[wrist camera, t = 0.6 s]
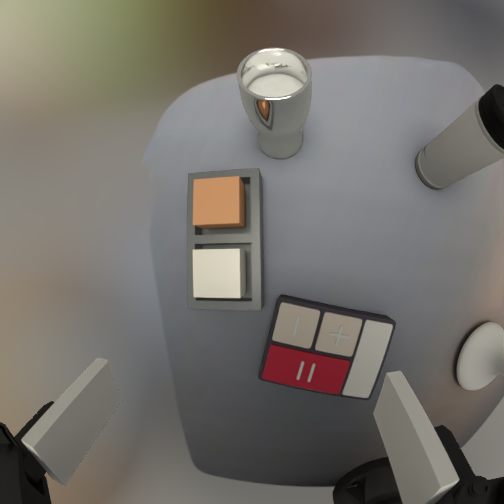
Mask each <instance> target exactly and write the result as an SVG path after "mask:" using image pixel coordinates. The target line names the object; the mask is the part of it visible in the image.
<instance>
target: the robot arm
mask: <svg viewBox="0 0 504 504" xmlns="http://www.w3.org/2000/svg"><path fill="white" fill-rule="evenodd" d="M121 401H122V398H121V395H120V392H119V389H118V386H117V384H116V381H115V378H114V375H113V371H112V368H111V365H110V362H109V360H106V359H101V358H96V360H95V361H94V362H93V363H92V364H91V365H90V366H89V367H88V368H87V369H86V370H85V371H84V372H83V373H82V374H81V375H80V376H79V377H78V378H77V379H76V380H75V381H74V382H73V383H72V384H71V385H70V387H69V388H68V389H67V390H66V391H65V392H64V393H63V394H62V395H61V396H60V397H59V398H58V400H56V402H53V401H51V402H49V403H48V404H46V405H44V406H43V407H42V408H41V409H40V410H39V411H38V412H37V414H35V415H34V416H33V419H31V420H30V421H29V422H28V423H27V424H26V425H25V426H24V427H23V428H22V429H21V431H20V432H19V433H18V434H17V435H16V436H15V437H13V435H12V434H11V433H10V431H9V430H8V428H7V427H6V425H5V424H3V423H0V504H51V500H50V495H49V490H48V484H47V480H46V477H45V476H44V474H45V473H46V472H47V473H48V474H49V475H50V476H51V478H52V479H54V480H55V481H57V482H59V483H61V484H62V485H64V486H66V485H67V483H68V481H69V480H70V478H71V477H72V475H73V474H74V472H75V471H76V469H77V467H78V466H79V464H80V463H81V461H82V460H83V458H84V456H85V455H86V454H87V452H88V451H89V449H90V448H91V446H92V445H93V443H94V442H95V440H96V438H97V437H98V436H99V434H100V433H101V431H102V430H103V428H104V427H105V425H106V424H107V422H108V420H109V419H110V418H111V416H112V415H113V413H114V412H115V410H116V409H117V408H118V406H119V405H120V403H121ZM373 415H374V418H375V420H376V423H377V426H378V429H379V431H380V434H381V437H382V440H383V443H384V446H385V449H386V452H387V455H388V458H384V459H379V460H376V461H372V462H370V463H367V464H365V465H362V466H360V467H358V468H356V469H355V470H353V471H351V472H350V473H348V474H347V475H346V476H344V477H343V478H342V479H341V480H340V481H339V482H338V483H337V485H336V486H335V488H334V491H333V501H334V504H504V477H500V478H496V479H491V480H487V479H486V478H484V477H482V476H475V474H474V473H473V471H472V470H471V467H470V465H469V464H468V462H467V460H466V458H465V456H464V454H463V452H462V450H461V449H460V447H459V445H458V443H457V442H456V439H455V438H454V436H453V434H452V432H451V431H450V430H448V429H447V428H446V427H445V426H443V425H441V426H438V427H435V428H433V426H432V424H431V422H430V420H429V418H428V417H427V415H426V413H425V411H424V409H423V408H422V406H421V404H420V402H419V401H418V399H417V397H416V395H415V394H414V392H413V390H412V388H411V387H410V385H409V383H408V382H407V380H406V378H405V377H404V375H403V373H402V372H401V371H396V372H388V373H386V376H385V380H384V383H383V386H382V389H381V392H380V396H379V399H378V402H377V404H376V407H375V410H374V413H373Z"/></svg>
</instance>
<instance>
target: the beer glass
mask: <svg viewBox="0 0 504 504" xmlns="http://www.w3.org/2000/svg"><path fill="white" fill-rule="evenodd" d="M311 77H312V72H311V68H310V65H309V64H308V62H307V61H306V60H305V59H304V58H303V57H302V56H301V55H299V54H298V53H296V52H294V51H291V50H288V49H283V48H265V49H261V50H258V51H256V52H253V53H251V54H250V55H248V56H247V57H246V58H245V59H244V60H243V61H242V62H241V64H240V65H239V67H238V70H237V80H238V83H239V90H240V96H241V100H242V104H243V106H244V109H245V112H246V114H247V116H248V117H249V119H250V121H251V122H252V124H253V125H254V126H255V128H256V129H257V130H258V136H257V140H258V145H259V147H260V149H261V150H262V151H263V152H264V153H265V154H266V155H268V156H270V157H272V158H277V159H284V158H288V157H291V156H293V155H294V154H296V153H297V152H298V151H299V149H300V148H301V146H302V142H303V135H302V131H301V128H302V126H303V124H304V122H305V120H306V118H307V115H308V113H309V110H310V105H311V98H312V81H311Z"/></svg>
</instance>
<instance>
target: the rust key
mask: <svg viewBox="0 0 504 504" xmlns="http://www.w3.org/2000/svg"><path fill="white" fill-rule="evenodd" d="M193 225H194V226H197V227H200V228H202V229H218V228H245V185H244V184H243V182H242V180H241V178H240V177H239V176H233V177H218V178H206V179H194V188H193Z"/></svg>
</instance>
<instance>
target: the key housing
mask: <svg viewBox="0 0 504 504" xmlns="http://www.w3.org/2000/svg"><path fill="white" fill-rule="evenodd" d="M233 176H239V177H240V178H241V180H242V182H243V184H244V185H245V228H218V229H202V228H200V227H197V226H194V225H193V188H194V179H206V178H218V177H233ZM200 249H243V250H246V294H245V295H244V296H242V297H241V298H204V297H194V294H193V250H200ZM187 292H188V309H211V310H262V308H263V306H264V259H263V199H262V176H261V173H260V170H259V168H254V169H236V170H222V171H210V172H199V173H189V174H188V194H187Z"/></svg>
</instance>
